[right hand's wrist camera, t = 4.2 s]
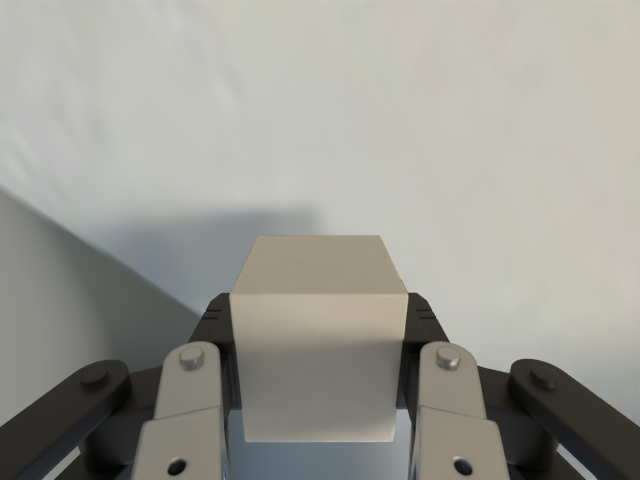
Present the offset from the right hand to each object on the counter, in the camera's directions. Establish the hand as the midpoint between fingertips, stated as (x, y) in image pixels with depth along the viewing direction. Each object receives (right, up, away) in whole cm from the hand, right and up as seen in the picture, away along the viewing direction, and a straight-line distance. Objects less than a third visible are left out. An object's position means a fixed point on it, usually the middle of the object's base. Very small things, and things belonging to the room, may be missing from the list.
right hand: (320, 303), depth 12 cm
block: (0, 0, 0) cm, 0 cm away
